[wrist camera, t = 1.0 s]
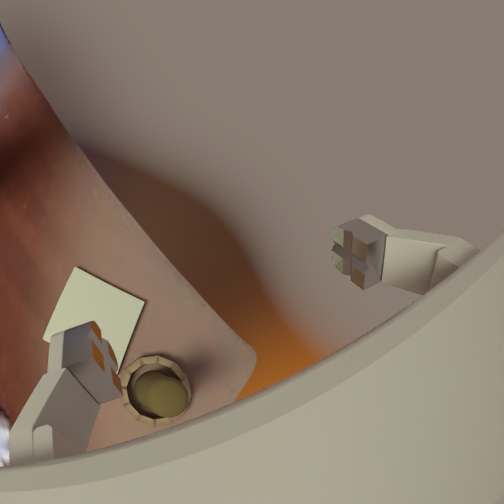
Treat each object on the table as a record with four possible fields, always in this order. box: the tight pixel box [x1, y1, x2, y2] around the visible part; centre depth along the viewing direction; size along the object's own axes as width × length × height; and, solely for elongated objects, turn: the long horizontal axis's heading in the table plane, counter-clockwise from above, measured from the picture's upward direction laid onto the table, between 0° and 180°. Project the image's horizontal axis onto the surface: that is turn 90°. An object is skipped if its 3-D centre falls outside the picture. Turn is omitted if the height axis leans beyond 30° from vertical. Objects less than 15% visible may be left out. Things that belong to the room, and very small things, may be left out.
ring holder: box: [121, 355, 191, 426], centre depth 40 cm, size 10×10×2 cm
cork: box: [134, 371, 189, 418], centre depth 36 cm, size 6×6×11 cm
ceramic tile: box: [43, 267, 144, 374], centre depth 39 cm, size 12×12×1 cm
